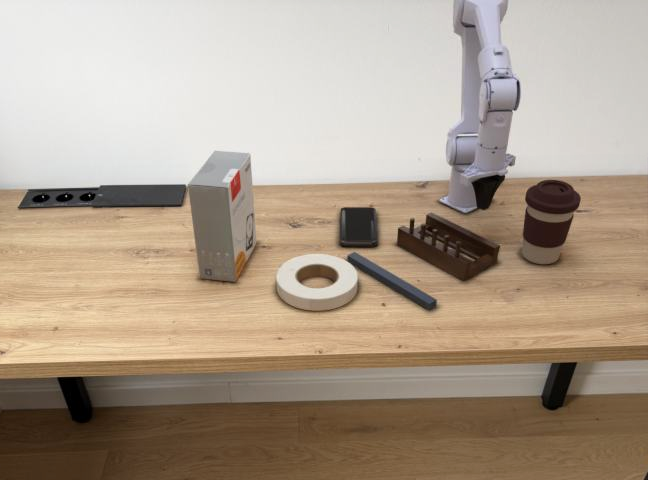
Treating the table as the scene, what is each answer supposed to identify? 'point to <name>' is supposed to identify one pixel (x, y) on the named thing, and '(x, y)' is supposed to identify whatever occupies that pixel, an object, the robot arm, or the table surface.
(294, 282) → the tape roll
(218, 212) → the hard drive box
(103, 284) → the table surface
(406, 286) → the rail
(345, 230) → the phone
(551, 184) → the coffee cup
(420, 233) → the rack
